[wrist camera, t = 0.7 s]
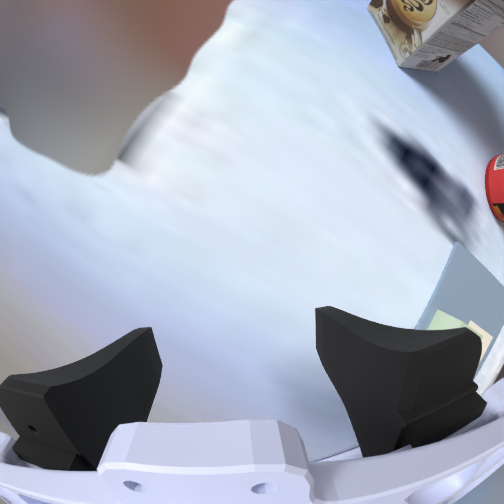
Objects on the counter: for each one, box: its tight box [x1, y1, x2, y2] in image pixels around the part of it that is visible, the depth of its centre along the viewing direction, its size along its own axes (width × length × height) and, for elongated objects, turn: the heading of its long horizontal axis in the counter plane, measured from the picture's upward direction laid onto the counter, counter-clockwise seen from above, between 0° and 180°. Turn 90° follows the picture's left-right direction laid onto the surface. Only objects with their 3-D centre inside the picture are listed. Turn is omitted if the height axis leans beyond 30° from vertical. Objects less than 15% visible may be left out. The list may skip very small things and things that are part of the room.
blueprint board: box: [414, 241, 504, 380], centre depth 23 cm, size 20×15×1 cm
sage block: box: [427, 310, 483, 340], centre depth 20 cm, size 4×4×4 cm
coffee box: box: [367, 0, 504, 72], centre depth 11 cm, size 9×6×16 cm
